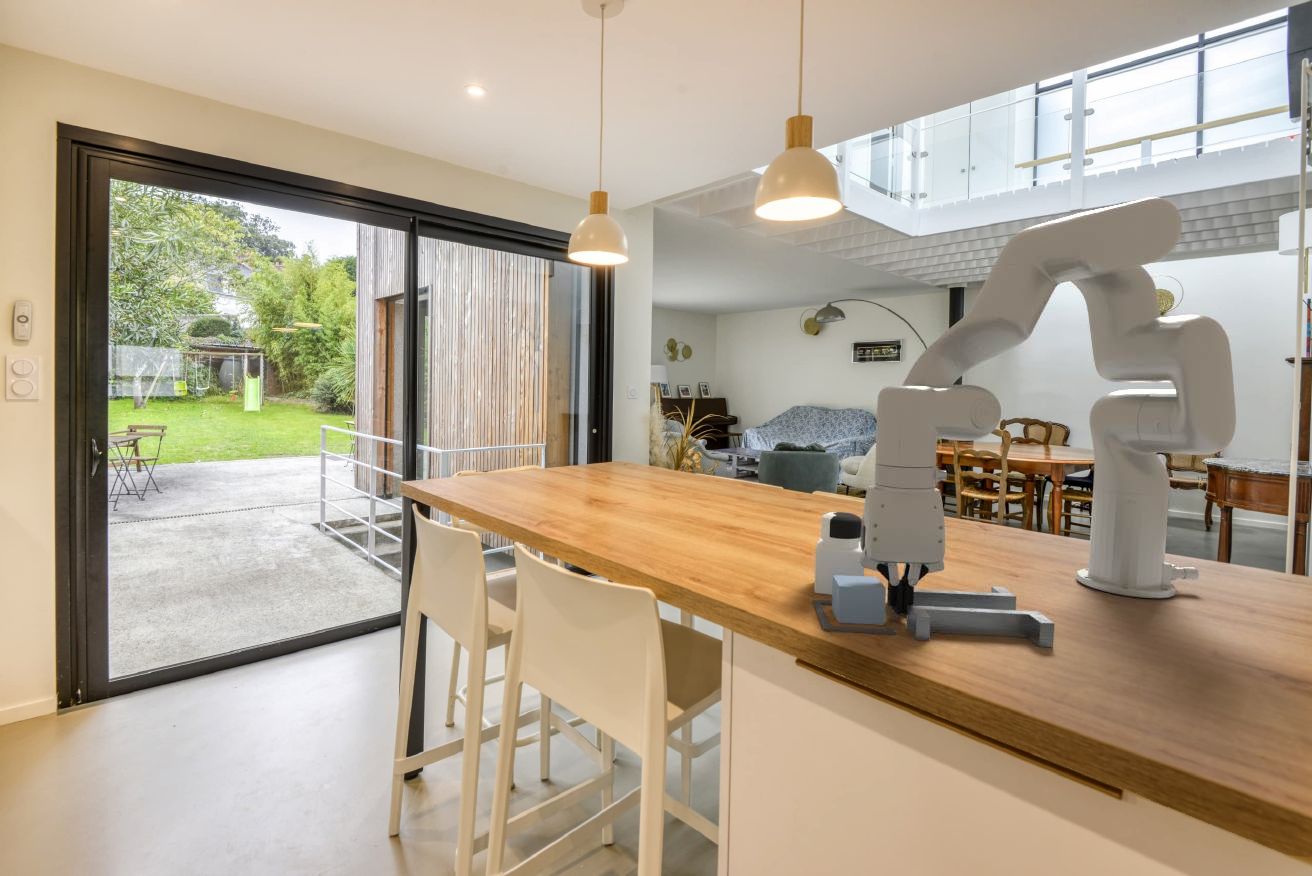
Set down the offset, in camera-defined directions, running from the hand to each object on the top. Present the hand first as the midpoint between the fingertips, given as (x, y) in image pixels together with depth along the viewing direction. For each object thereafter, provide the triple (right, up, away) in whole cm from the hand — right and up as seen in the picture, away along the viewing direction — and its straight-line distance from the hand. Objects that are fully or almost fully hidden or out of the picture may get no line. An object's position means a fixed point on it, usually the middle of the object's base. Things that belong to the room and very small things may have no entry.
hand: (899, 611), depth 82 cm
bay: (-6, -1, +1) cm, 6 cm away
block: (-5, -1, +1) cm, 6 cm away
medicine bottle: (-4, 0, +13) cm, 13 cm away
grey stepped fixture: (+8, -1, -1) cm, 8 cm away
